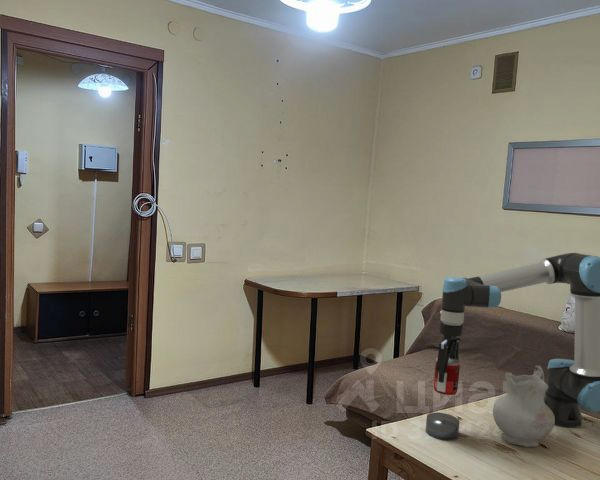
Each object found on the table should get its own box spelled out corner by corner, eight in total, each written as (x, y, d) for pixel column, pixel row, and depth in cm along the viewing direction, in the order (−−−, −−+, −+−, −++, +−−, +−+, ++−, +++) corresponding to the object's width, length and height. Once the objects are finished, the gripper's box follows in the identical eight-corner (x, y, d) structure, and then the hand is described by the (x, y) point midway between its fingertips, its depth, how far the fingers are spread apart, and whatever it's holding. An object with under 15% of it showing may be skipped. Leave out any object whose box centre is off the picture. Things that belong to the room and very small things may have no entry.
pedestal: (462, 432, 180) (464, 419, 180) (451, 443, 171) (452, 429, 171) (432, 423, 187) (433, 409, 186) (420, 433, 178) (421, 419, 178)
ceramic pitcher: (502, 423, 193) (503, 357, 192) (560, 436, 182) (561, 366, 181) (486, 444, 175) (486, 371, 174) (548, 459, 164) (549, 382, 163)
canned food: (458, 396, 173) (461, 364, 173) (433, 393, 175) (436, 361, 174) (456, 388, 181) (458, 358, 180) (432, 385, 182) (435, 355, 182)
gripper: (451, 316, 187) (445, 377, 188) (429, 325, 170) (423, 392, 172) (472, 320, 182) (466, 383, 184) (451, 330, 166) (445, 399, 167)
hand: (445, 387), depth 178 cm, fingers closed on canned food, 8 cm apart
